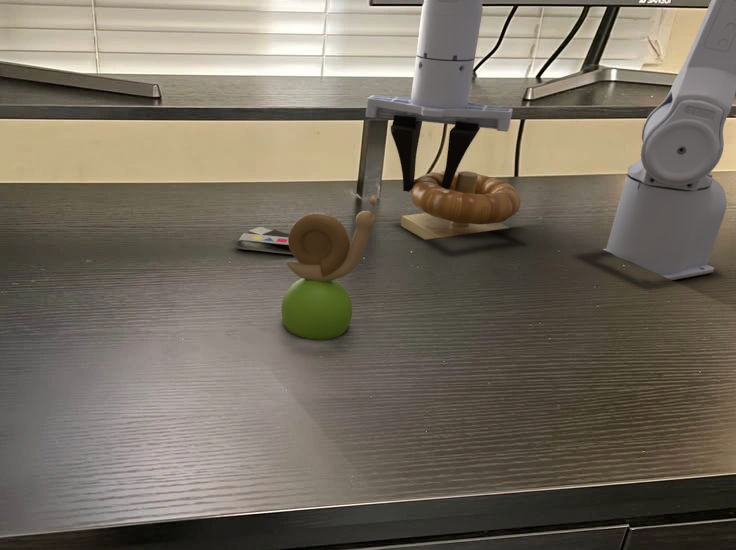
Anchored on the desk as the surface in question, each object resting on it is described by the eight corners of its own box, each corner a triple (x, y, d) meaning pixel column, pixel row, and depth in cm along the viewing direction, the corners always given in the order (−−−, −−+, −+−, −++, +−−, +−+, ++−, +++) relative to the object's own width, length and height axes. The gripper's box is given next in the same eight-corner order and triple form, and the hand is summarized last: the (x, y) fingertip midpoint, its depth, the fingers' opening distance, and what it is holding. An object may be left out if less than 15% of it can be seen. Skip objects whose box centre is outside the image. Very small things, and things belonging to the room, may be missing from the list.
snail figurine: (358, 363, 56) (375, 208, 50) (274, 353, 57) (281, 199, 51) (364, 331, 60) (380, 185, 54) (286, 322, 61) (293, 178, 55)
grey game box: (326, 254, 74) (326, 244, 74) (293, 268, 71) (294, 258, 70) (261, 233, 79) (261, 224, 79) (227, 245, 76) (227, 236, 75)
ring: (471, 191, 86) (476, 165, 85) (538, 223, 78) (545, 195, 76) (389, 197, 82) (393, 171, 81) (450, 232, 73) (456, 202, 72)
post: (465, 217, 86) (475, 159, 83) (518, 243, 79) (531, 181, 76) (400, 225, 83) (408, 166, 80) (449, 253, 76) (459, 189, 73)
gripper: (364, 56, 73) (351, 192, 79) (517, 68, 68) (490, 211, 75) (380, 48, 78) (367, 176, 85) (523, 59, 74) (497, 192, 81)
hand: (426, 191), depth 80 cm, fingers closed on ring, 3 cm apart
